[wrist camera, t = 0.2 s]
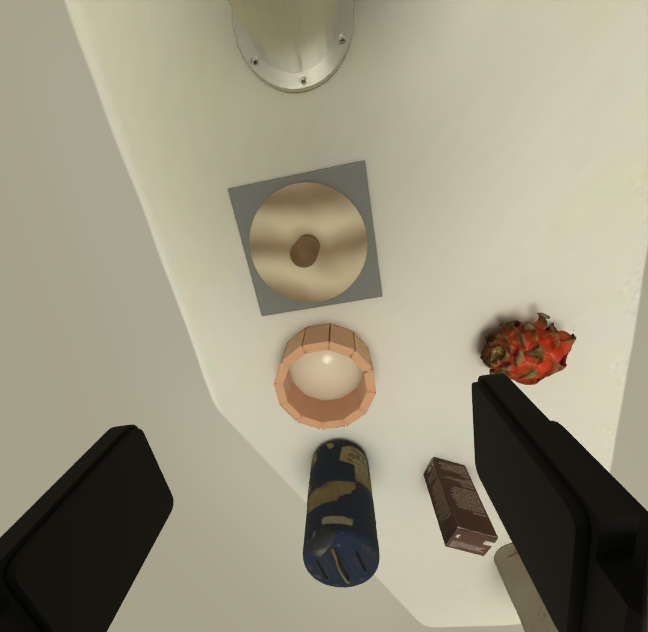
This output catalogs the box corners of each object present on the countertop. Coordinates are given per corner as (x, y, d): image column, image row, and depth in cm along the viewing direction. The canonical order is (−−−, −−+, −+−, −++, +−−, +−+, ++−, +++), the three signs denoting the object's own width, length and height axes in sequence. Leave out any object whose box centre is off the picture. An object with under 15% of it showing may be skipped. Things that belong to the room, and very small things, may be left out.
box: (422, 475, 55) (443, 547, 44) (433, 456, 54) (458, 525, 42) (454, 484, 55) (484, 558, 44) (466, 465, 54) (500, 537, 43)
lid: (237, 195, 40) (218, 195, 33) (357, 171, 39) (361, 166, 32) (267, 308, 45) (255, 327, 38) (374, 290, 44) (380, 307, 37)
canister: (315, 482, 56) (305, 603, 40) (308, 438, 53) (294, 550, 36) (370, 478, 56) (384, 601, 39) (366, 434, 53) (379, 547, 36)
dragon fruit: (459, 339, 48) (536, 317, 48) (483, 396, 45) (564, 373, 45) (482, 325, 40) (575, 298, 40) (513, 393, 37) (612, 364, 37)
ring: (273, 332, 47) (264, 350, 41) (363, 318, 46) (367, 335, 40) (293, 407, 51) (287, 433, 46) (375, 396, 50) (380, 422, 44)
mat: (229, 189, 40) (227, 189, 40) (364, 160, 39) (364, 160, 38) (262, 314, 46) (261, 316, 45) (381, 295, 44) (382, 296, 44)
